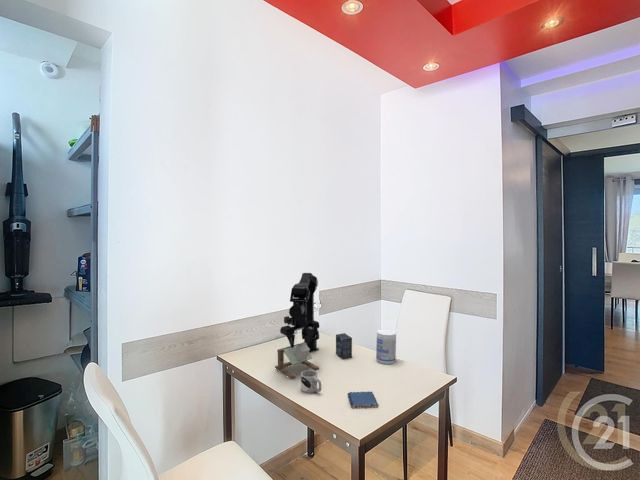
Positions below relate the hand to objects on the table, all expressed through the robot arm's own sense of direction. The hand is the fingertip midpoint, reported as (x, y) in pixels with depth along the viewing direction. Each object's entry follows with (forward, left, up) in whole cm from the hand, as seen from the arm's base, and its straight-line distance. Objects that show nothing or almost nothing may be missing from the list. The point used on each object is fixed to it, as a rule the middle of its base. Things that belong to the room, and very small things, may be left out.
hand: (300, 345), depth 154 cm
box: (-28, 0, -12) cm, 30 cm away
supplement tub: (-40, +18, -12) cm, 45 cm away
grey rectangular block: (0, 0, -5) cm, 5 cm away
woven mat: (-3, +37, -13) cm, 39 cm away
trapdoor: (0, -2, -5) cm, 6 cm away
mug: (+7, +18, -12) cm, 23 cm away
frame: (0, -3, -12) cm, 12 cm away
